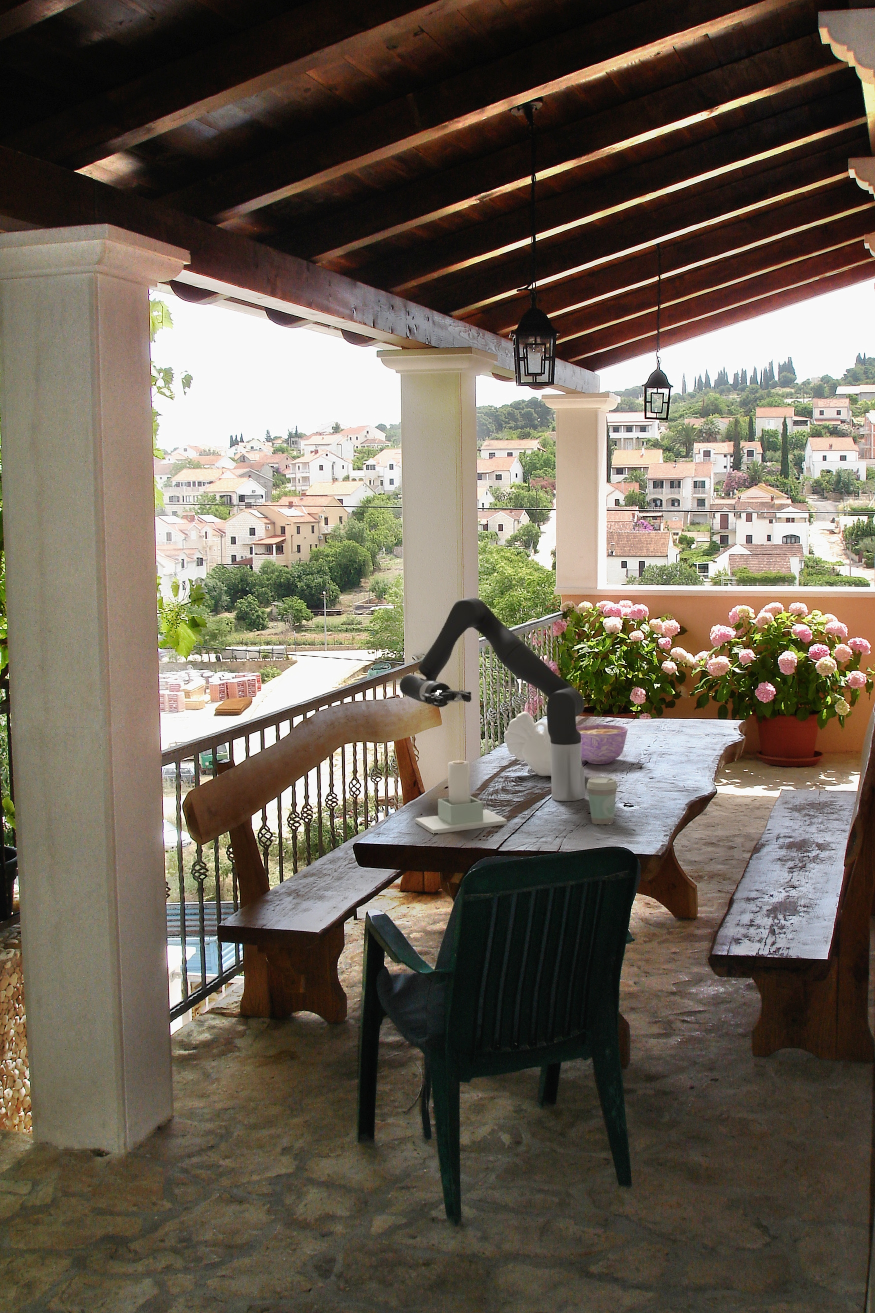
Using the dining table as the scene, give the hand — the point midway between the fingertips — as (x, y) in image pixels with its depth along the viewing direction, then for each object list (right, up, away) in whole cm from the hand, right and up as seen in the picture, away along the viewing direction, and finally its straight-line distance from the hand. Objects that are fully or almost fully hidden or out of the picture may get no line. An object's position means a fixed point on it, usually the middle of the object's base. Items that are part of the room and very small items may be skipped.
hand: (456, 699), depth 330 cm
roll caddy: (+1, -34, -18) cm, 38 cm away
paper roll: (+1, -33, -18) cm, 37 cm away
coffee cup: (+40, -33, -22) cm, 56 cm away
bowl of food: (+51, -24, +61) cm, 83 cm away
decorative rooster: (+30, -27, +44) cm, 60 cm away
